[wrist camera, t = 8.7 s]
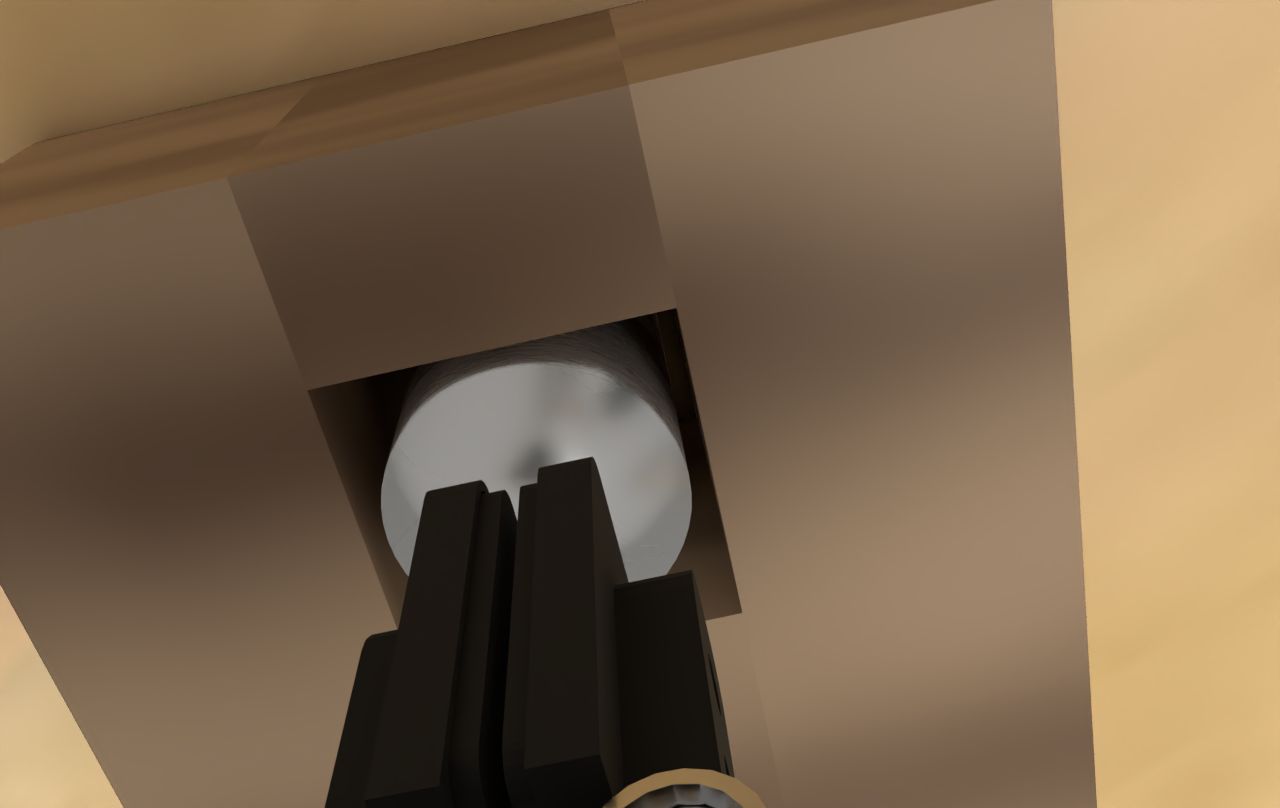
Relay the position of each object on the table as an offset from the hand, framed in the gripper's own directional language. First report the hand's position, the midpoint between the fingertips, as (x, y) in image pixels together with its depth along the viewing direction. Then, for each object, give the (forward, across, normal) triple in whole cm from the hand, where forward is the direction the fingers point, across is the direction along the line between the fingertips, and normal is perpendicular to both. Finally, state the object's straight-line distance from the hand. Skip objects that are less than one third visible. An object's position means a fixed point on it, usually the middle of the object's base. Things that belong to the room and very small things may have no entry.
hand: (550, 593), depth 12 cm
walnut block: (+9, +1, +7) cm, 12 cm away
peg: (+9, +1, +1) cm, 9 cm away
